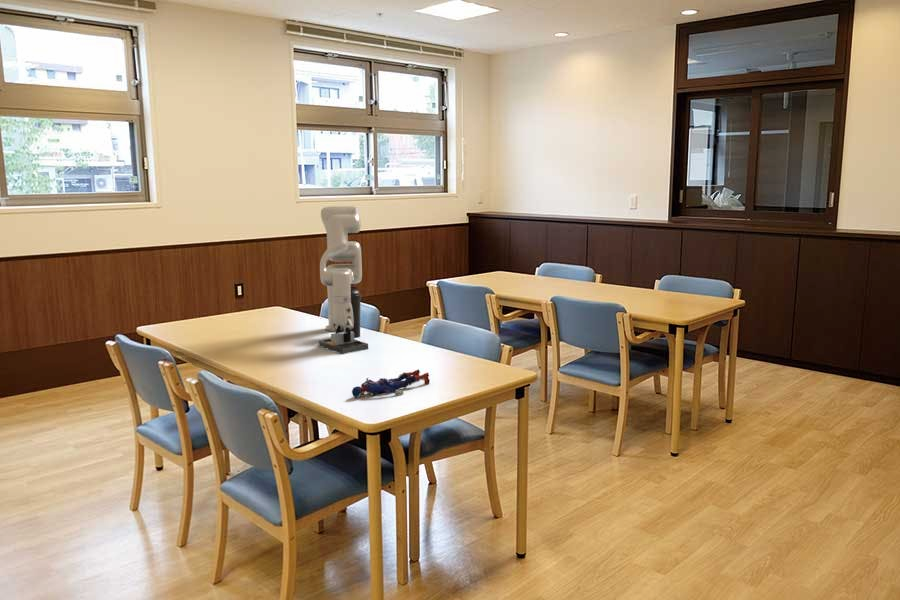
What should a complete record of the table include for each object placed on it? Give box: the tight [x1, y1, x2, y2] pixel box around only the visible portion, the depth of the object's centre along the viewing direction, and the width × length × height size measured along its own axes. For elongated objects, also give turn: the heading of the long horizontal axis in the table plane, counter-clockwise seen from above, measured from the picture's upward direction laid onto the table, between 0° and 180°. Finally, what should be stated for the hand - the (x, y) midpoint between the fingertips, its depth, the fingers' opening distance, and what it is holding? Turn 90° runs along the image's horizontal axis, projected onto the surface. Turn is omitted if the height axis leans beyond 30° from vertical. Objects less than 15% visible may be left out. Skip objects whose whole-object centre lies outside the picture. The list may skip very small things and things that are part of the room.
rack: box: [318, 338, 369, 355], centre depth 300 cm, size 13×19×3 cm
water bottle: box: [341, 285, 362, 339], centre depth 319 cm, size 10×10×23 cm
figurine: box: [351, 369, 430, 398], centre depth 239 cm, size 15×6×30 cm
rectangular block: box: [330, 331, 355, 345], centre depth 299 cm, size 10×4×6 cm, turn 132°
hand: (343, 340), depth 300 cm, fingers open, 5 cm apart
